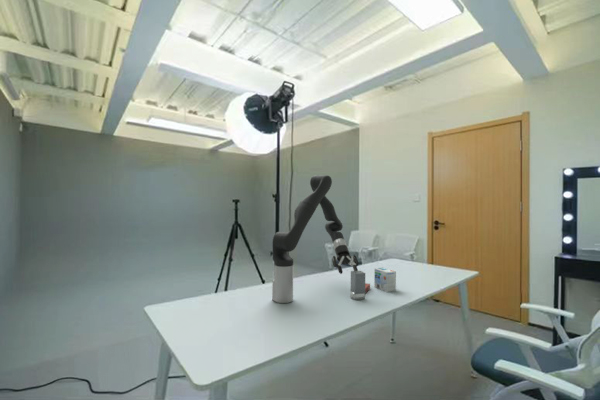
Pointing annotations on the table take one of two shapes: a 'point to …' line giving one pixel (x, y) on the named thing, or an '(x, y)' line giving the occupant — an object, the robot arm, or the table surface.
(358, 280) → the socket
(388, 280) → the light bulb box
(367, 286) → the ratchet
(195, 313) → the table surface
